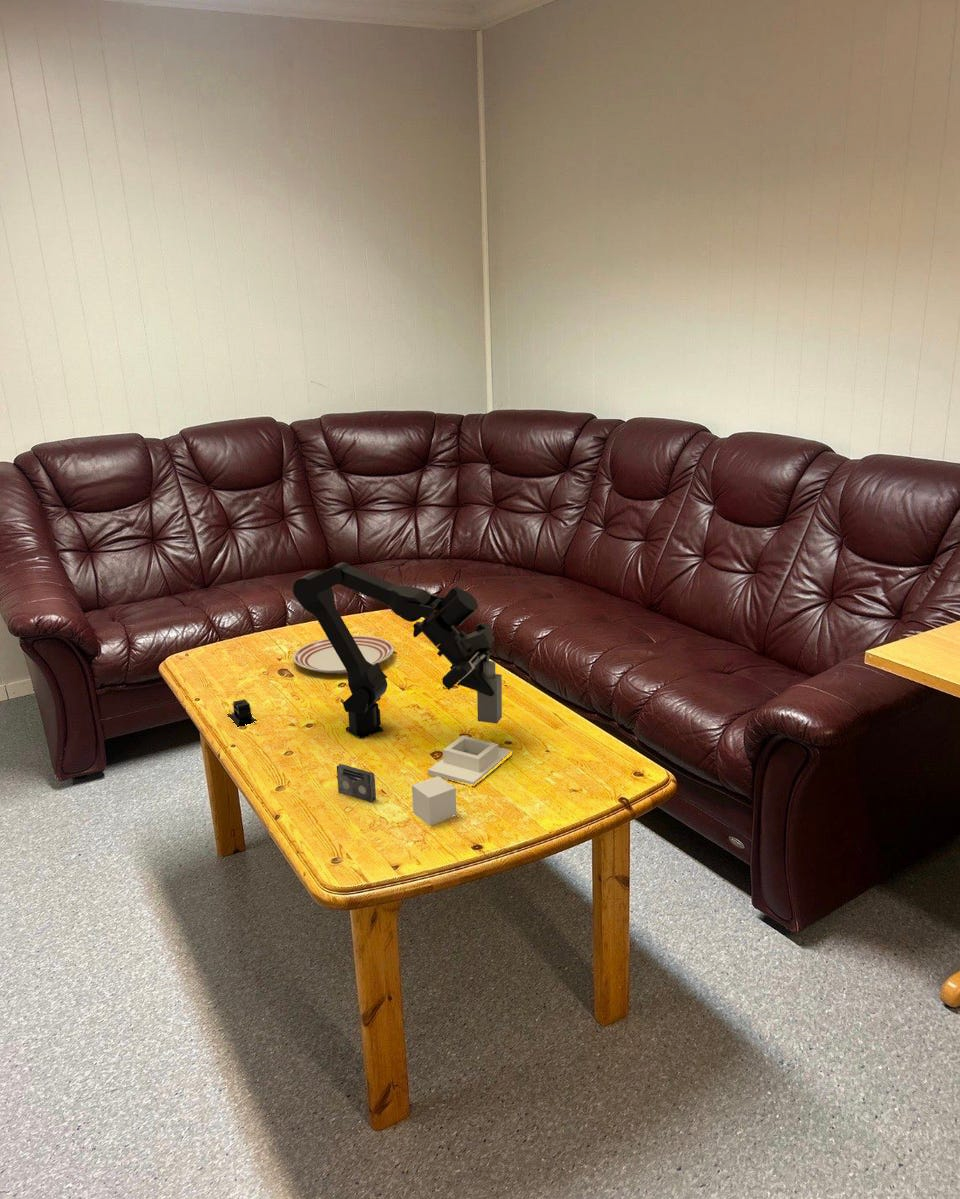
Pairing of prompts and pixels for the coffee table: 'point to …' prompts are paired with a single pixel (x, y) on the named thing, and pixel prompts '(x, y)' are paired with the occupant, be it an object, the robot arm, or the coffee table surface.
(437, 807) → the gray cube
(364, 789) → the mini dv tape
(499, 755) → the socket board
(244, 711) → the black boxy piece
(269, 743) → the coffee table surface
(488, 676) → the plug
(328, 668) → the dinner plate
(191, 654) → the coffee table surface
